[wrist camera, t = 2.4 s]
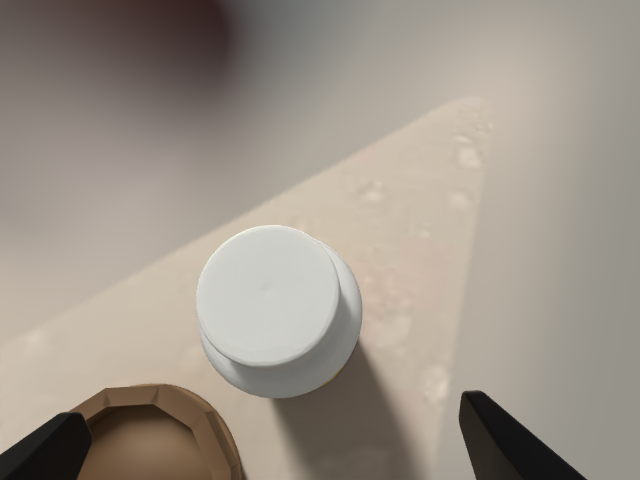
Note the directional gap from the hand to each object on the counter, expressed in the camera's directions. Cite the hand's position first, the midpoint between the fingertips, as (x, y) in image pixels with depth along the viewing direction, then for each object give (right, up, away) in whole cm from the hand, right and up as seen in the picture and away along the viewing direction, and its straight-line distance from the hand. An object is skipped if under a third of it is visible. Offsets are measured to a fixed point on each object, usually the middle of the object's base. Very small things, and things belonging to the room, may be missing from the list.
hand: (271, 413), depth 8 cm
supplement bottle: (0, -1, +11) cm, 11 cm away
